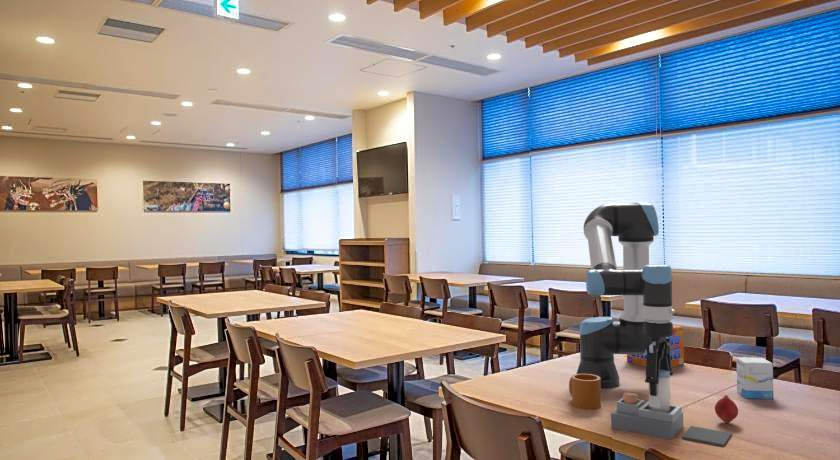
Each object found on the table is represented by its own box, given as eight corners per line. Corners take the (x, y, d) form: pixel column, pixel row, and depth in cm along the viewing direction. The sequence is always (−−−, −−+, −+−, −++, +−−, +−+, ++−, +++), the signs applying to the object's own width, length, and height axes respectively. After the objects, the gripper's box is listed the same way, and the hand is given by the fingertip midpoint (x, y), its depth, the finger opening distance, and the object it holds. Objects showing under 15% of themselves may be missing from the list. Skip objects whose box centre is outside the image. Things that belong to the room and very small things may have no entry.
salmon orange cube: (622, 408, 164) (621, 394, 164) (626, 405, 167) (626, 391, 167) (635, 411, 162) (634, 396, 162) (639, 407, 165) (638, 393, 165)
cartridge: (646, 415, 159) (646, 372, 159) (652, 410, 163) (651, 368, 163) (667, 419, 156) (666, 374, 156) (673, 414, 160) (672, 370, 160)
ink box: (774, 399, 185) (773, 363, 185) (745, 398, 187) (744, 362, 187) (764, 392, 193) (763, 357, 193) (736, 391, 195) (735, 356, 195)
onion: (710, 420, 166) (710, 392, 166) (729, 419, 167) (729, 391, 167) (723, 426, 160) (722, 398, 160) (742, 425, 161) (742, 397, 161)
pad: (681, 438, 152) (681, 436, 152) (691, 428, 160) (691, 425, 160) (723, 446, 146) (723, 444, 146) (731, 435, 154) (731, 433, 154)
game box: (654, 357, 248) (654, 321, 248) (684, 365, 233) (683, 326, 233) (626, 361, 241) (625, 324, 242) (655, 369, 227) (654, 329, 227)
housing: (611, 427, 162) (610, 404, 162) (625, 416, 171) (625, 394, 171) (671, 439, 152) (671, 414, 152) (683, 426, 161) (682, 403, 161)
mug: (586, 397, 191) (586, 370, 191) (606, 408, 180) (606, 379, 180) (561, 399, 189) (561, 372, 189) (580, 410, 178) (580, 381, 178)
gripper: (660, 327, 149) (662, 415, 149) (682, 316, 166) (684, 395, 166) (631, 325, 153) (633, 410, 153) (655, 315, 170) (657, 391, 170)
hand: (659, 402), depth 159 cm, fingers open, 9 cm apart
